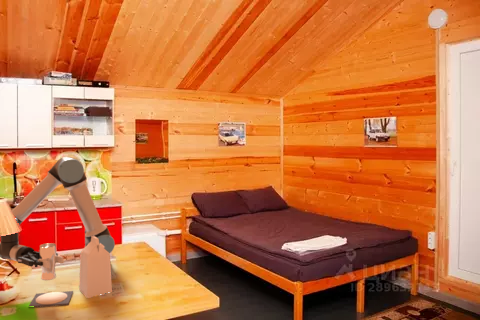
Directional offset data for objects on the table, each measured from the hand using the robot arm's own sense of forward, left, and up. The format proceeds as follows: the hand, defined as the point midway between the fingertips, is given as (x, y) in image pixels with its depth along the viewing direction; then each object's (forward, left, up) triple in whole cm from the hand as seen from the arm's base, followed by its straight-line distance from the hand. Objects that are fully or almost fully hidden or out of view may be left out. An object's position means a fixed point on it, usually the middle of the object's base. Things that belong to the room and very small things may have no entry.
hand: (55, 262), depth 186 cm
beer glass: (+4, -3, -8) cm, 10 cm away
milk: (-16, -9, -18) cm, 26 cm away
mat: (+2, -2, -18) cm, 18 cm away
